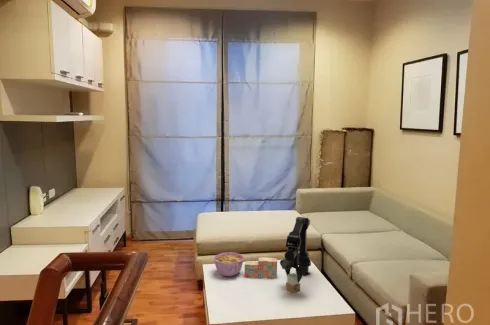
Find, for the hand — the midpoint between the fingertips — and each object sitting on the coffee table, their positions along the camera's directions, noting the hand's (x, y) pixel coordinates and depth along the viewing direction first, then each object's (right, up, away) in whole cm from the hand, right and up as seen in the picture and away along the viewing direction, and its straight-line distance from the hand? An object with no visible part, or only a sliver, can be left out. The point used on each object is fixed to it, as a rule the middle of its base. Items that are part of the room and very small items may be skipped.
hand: (293, 279), depth 230 cm
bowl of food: (-40, -5, +26) cm, 48 cm away
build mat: (-1, -8, 0) cm, 8 cm away
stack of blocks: (-19, -5, +23) cm, 30 cm away
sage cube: (0, -2, 0) cm, 2 cm away
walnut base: (0, -7, +1) cm, 7 cm away
